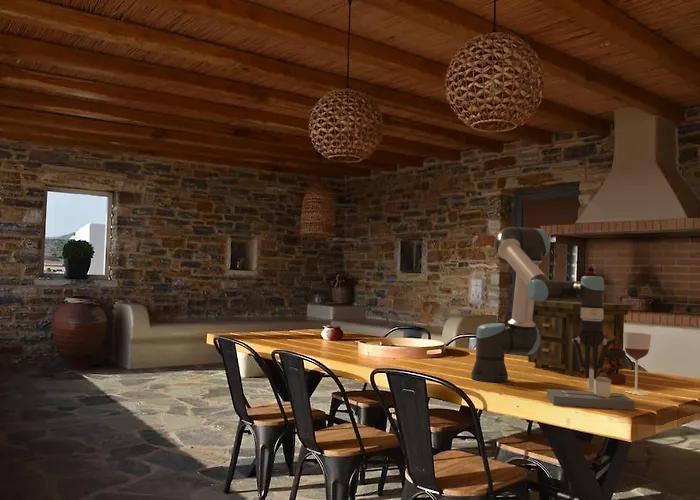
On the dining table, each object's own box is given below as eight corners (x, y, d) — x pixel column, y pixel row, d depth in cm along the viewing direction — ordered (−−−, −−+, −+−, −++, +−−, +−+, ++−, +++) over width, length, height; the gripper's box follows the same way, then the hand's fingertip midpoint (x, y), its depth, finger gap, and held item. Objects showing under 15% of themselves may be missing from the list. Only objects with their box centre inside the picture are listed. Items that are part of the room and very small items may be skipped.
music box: (618, 385, 260) (615, 337, 262) (593, 383, 269) (590, 336, 271) (635, 382, 270) (631, 335, 272) (610, 380, 279) (607, 335, 281)
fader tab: (597, 396, 216) (598, 379, 216) (593, 393, 223) (593, 376, 223) (611, 397, 216) (611, 380, 216) (606, 393, 222) (606, 377, 222)
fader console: (553, 405, 215) (553, 395, 215) (547, 397, 228) (547, 388, 228) (634, 410, 211) (634, 400, 211) (622, 402, 225) (622, 393, 225)
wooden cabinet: (630, 375, 292) (631, 304, 294) (571, 377, 279) (573, 303, 280) (576, 364, 325) (577, 301, 326) (521, 365, 311) (522, 299, 312)
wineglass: (617, 390, 249) (618, 332, 250) (641, 391, 250) (642, 332, 251) (629, 394, 240) (631, 334, 241) (654, 395, 241) (656, 335, 241)
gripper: (574, 319, 218) (573, 388, 217) (614, 321, 216) (612, 390, 215) (570, 318, 225) (568, 384, 224) (608, 320, 223) (607, 387, 222)
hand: (590, 387), depth 220 cm, fingers closed
